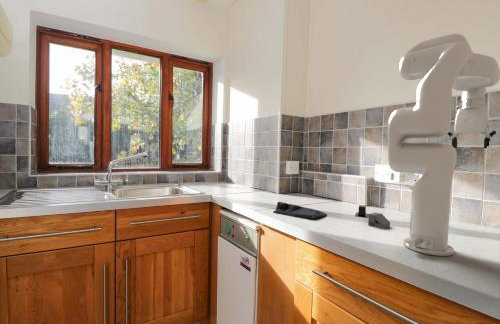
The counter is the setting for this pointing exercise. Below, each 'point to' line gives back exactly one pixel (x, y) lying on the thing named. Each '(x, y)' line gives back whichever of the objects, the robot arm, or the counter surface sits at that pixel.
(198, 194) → the counter surface
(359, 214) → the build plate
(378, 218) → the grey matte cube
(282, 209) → the dark grey rough slab
